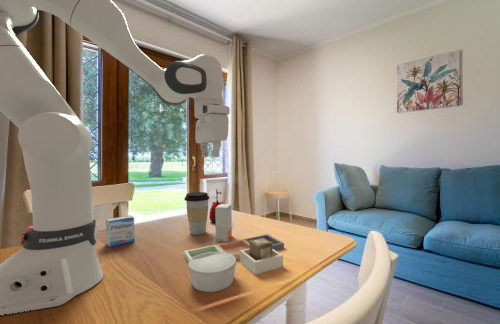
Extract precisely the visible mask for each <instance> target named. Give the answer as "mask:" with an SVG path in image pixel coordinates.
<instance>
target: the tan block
mask: <svg viewBox="0 0 500 324" xmlns="http://www.w3.org/2000/svg"><path fill="white" fill-rule="evenodd" d="M249 256H251V257H252V258H253V259H254V260H256V261H257V260H261V259H265V258H269V257H273V249H272V242H270V241H268V240H267V239H265V238H259V239H254V240H250V241H249Z"/></svg>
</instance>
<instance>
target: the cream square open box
mask: <svg viewBox="0 0 500 324" xmlns="http://www.w3.org/2000/svg"><path fill="white" fill-rule="evenodd" d="M239 262H240V263H241V264H242V265H243V266H244V267H246V269H247V270H249V271H250V272H251V273H252V274H254V275H255V276H256V275H259V274H262V273H265V272H270V271H274V270H276V269H280V268H284V255H283V254H281V253H280V252H279V251H277V250H274V249H273V257H269V258H265V259H261V260H257V261H256V260H254V259H253V258H252V257H251V256H249V249H244V250H240V259H239Z"/></svg>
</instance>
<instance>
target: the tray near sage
mask: <svg viewBox="0 0 500 324" xmlns="http://www.w3.org/2000/svg"><path fill="white" fill-rule="evenodd" d="M208 252H223V251H222V250H221V249H219V248H218V247H217V246H216V244H212V245H206V246H202V247H198V248H197V247H196V248H194V249H193V248H192V249H187V250H184V251H183V256H184V259H185V260H186V262H187V263H189V261H190V260H191V259H192V258H193V257H195V256H197V255H200V254H203V253H208Z"/></svg>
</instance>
